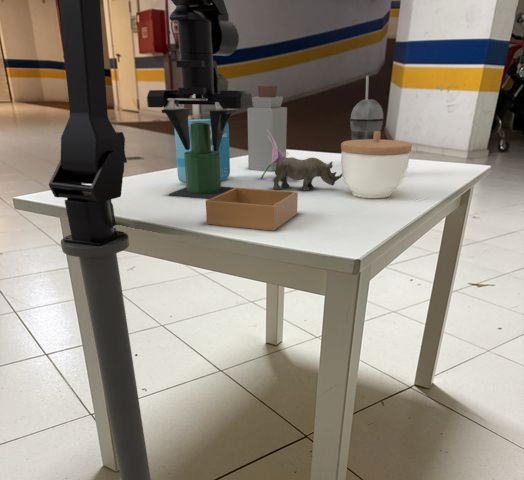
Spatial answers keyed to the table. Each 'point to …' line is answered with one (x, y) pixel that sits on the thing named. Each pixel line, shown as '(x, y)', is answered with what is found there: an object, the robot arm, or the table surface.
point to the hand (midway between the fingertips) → (201, 150)
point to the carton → (252, 208)
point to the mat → (208, 196)
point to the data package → (222, 149)
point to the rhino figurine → (303, 172)
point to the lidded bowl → (374, 165)
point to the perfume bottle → (259, 119)
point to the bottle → (202, 162)
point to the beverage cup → (366, 118)
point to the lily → (275, 155)
